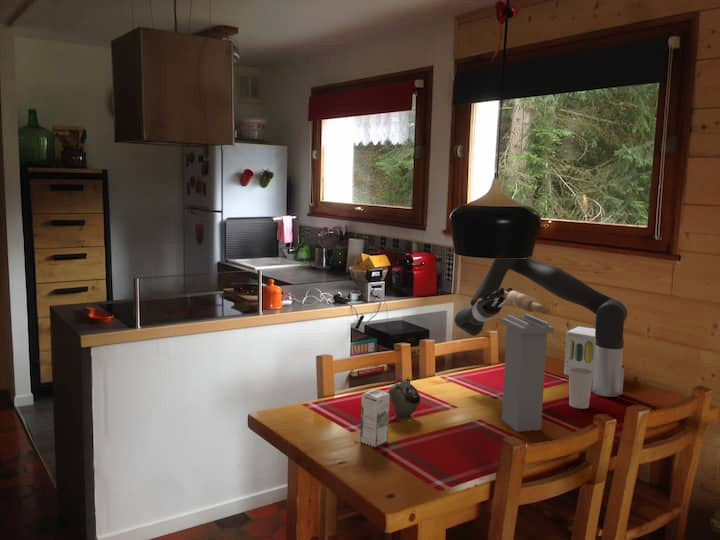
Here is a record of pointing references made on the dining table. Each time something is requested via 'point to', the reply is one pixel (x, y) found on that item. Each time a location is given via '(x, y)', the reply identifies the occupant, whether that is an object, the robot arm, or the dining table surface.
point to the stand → (524, 371)
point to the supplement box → (580, 349)
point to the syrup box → (374, 417)
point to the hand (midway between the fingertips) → (507, 290)
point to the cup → (580, 387)
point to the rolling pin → (525, 302)
